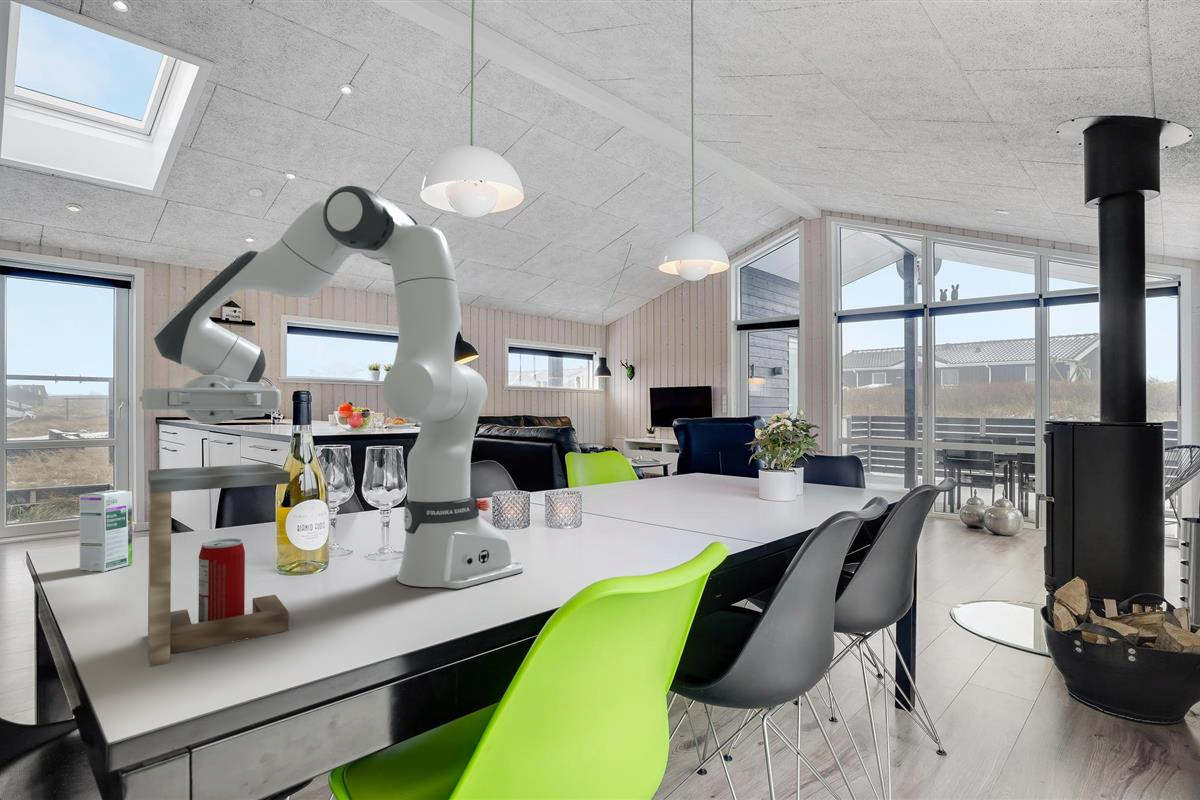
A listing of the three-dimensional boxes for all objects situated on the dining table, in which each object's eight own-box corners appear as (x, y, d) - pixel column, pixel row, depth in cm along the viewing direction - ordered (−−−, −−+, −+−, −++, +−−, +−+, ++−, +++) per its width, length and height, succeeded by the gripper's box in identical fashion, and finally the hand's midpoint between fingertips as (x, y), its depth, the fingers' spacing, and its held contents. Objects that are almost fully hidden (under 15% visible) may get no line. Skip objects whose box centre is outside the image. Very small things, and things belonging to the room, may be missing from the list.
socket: (275, 611, 93) (275, 594, 93) (288, 630, 85) (288, 612, 85) (160, 631, 84) (160, 613, 84) (163, 655, 76) (164, 635, 76)
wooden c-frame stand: (269, 608, 94) (270, 463, 94) (289, 637, 82) (290, 472, 82) (146, 629, 85) (148, 469, 85) (149, 666, 73) (151, 480, 73)
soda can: (253, 621, 88) (254, 537, 88) (221, 635, 83) (221, 545, 83) (222, 618, 90) (222, 535, 90) (188, 631, 84) (189, 543, 84)
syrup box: (103, 572, 114) (104, 494, 114) (77, 570, 115) (78, 493, 115) (132, 564, 119) (133, 489, 120) (107, 563, 121) (108, 489, 121)
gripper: (138, 380, 105) (139, 377, 94) (272, 383, 118) (287, 381, 107) (138, 417, 105) (139, 418, 94) (272, 416, 118) (287, 417, 107)
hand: (219, 398), depth 100 cm, fingers open, 8 cm apart
